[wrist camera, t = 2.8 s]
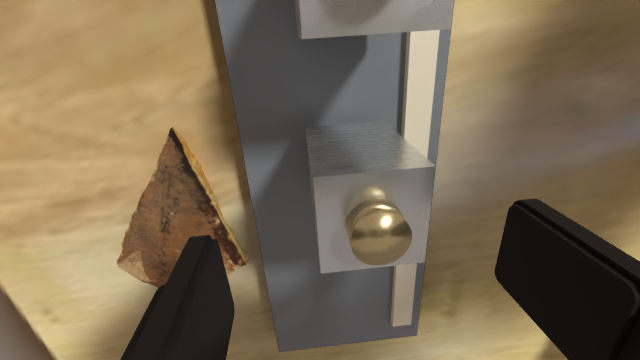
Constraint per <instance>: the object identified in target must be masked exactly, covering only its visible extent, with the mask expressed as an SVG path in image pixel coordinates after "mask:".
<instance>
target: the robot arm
mask: <svg viewBox="0 0 640 360" xmlns="http://www.w3.org/2000/svg"><path fill="white" fill-rule="evenodd" d="M495 276H496V279H497V280H498V282H499V283H500V284H501V285H502V286H503V288H504V289H505V290H506V291H507V292H508V293H509V294H510V295H511V296H512V298H513V299H514V300H515V301H516V302H517V303H518V304H519V305H520V306H521V308H522V309H523V310H524V311H525V312H526V313H527V314H528V315H529V316H530V318H531V319H532V320H533V321H534V322H535V323H536V324H537V325H538V326H539V328H540V329H541V330H542V331H543V332H544V333H545V334H546V335H547V336H548V338H549V339H550V340H551V341H552V342H553V343H554V344H555V345H556V346H557V348H558V349H559V350H560V351H561V352H562V353H563V354H564V355H565V357H566V358H567V359H568V360H640V261H638V260H636V259H635V258H633V257H631V256H630V255H628V254H626V253H625V252H623V251H622V250H620V249H618V248H617V247H615V246H613V245H612V244H610V243H609V242H607V241H605V240H604V239H602V238H600V237H599V236H597V235H595V234H594V233H592V232H591V231H589V230H587V229H586V228H584V227H582V226H581V225H579V224H577V223H576V222H574V221H573V220H571V219H569V218H568V217H566V216H564V215H563V214H561V213H559V212H558V211H556V210H555V209H553V208H551V207H550V206H548V205H546V204H545V203H543V202H542V201H540V200H538V199H527V200H518V201H515V202H514V203H513V205H512V206H511V207H510V208H509V210H508V214H507V218H506V223H505V227H504V232H503V236H502V241H501V245H500V249H499V254H498V258H497V263H496V267H495ZM233 319H234V303H233V298H232V294H231V290H230V286H229V282H228V278H227V274H226V270H225V266H224V262H223V258H222V254H221V250H220V246H219V242H218V240H217V239H212V237H211V236H210V235H203V236H194V237H189V239H188V240H187V242H186V244H185V246H184V248H183V251H182V253H181V255H180V257H179V259H178V261H177V263H176V265H175V267H174V269H173V271H172V273H171V275H170V277H169V279H168V281H167V283H166V285H162V286H160V287H159V288H158V290H157V291H156V293H155V295H154V297H153V298H152V300H151V302H150V304H149V306H148V308H147V310H146V312H145V314H144V316H143V318H142V319H141V321H140V323H139V325H138V327H137V329H136V331H135V333H134V335H133V337H132V339H131V340H130V342H129V344H128V346H127V348H126V350H125V352H124V354H123V356H122V358H121V360H226V356H227V350H228V345H229V340H230V334H231V329H232V324H233Z"/></svg>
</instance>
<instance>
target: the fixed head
mask: <svg viewBox="0 0 640 360" xmlns="http://www.w3.org/2000/svg"><path fill="white" fill-rule="evenodd" d="M453 5H454V0H295V10H296V22H297V33H298V39H312V38H327V37H342V36H356V35H371V34H385V33H400V32H414V31H429V30H444V29H451V23H452V14H453Z"/></svg>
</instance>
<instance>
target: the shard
mask: <svg viewBox="0 0 640 360" xmlns="http://www.w3.org/2000/svg"><path fill="white" fill-rule="evenodd" d="M203 235H210V236H211V237H212V239H217V240H218V242H219V246H220V250H221V254H222V258H223V262H224V266H225V270H226V274H227V277H228V276H230V274H231V273H232V272H234V271H235V270H236V269H237V268H238V267H241V266H244V265H246V264H247V262H248V258H247V257H246V254H245V251H244V250H243V249H242V248H241V246H240V245H239V243H238V242H237V241H236V239H235V237H234V234H233V231H232V229H231V228H230V227H229V226H228V224H227V223H226V222H225V220H224V217H223V215H222V213H221V211H220V208H219V205H218V202H217V200H216V197H215V196H214V194H213V191H212V190H211V188H210V186H209V183H208V181H207V179H206V177H205V175H204V172H203V170H202V168H201V165H200V164H199V162H198V161H197V159H196V158H195V156H194V154H193V153H192V152H191V151H190V149H189V148H188V145H187V143H186V142H185V141H184V140H183V138H182V137H181V136H180V135H179V134H178V133H177V132H176V130H175V129H174V128H170V131H169V134H168V136H167V138H166V142H165V144H164V146H163V148H162V150H161V152H160V155H159V159H158V163H157V167H156V169H155V170H154V173H153V175H152V178H151V180H150V182H149V184H148V186H147V188H146V189H145V190H144V192H143V194H142V195H141V198H140V200H139V203H138V206H137V208H136V211H135V212H134V214H133V215H132V218H131V220H130V222H129V228H128V230H127V231H126V232H125V237H124V240H123V242H122V248H123V249H122V252H121V254H120V256H119V258H118V260H117V264H118V267H120V268H121V269H123V270H124V271H126V272H128V273H129V274H131V275H133V276H134V277H136V278H137V279H139V280H141V281H142V282H145V283H149V284H151V285H154V286H156V287H158V288H159V287H160V286H162V285H166V283H167V281H168V279H169V277H170V275H171V273H172V271H173V269H174V267H175V265H176V263H177V261H178V259H179V257H180V255H181V253H182V251H183V248H184V246H185V244H186V242H187V240H188V239H189V237H194V236H203Z"/></svg>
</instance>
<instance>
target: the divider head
mask: <svg viewBox="0 0 640 360" xmlns="http://www.w3.org/2000/svg"><path fill="white" fill-rule="evenodd" d="M305 128H306V140H307V152H308V164H309V176H310V188H311V199H312V207H313V215H314V223H315V231H316V239H317V247H318V255H319V263H320V271H321V274H322V273H331V272H341V271H350V270H359V269H368V268H377V267H387V266H396V265H405V264H414V263H424V262H425V256H426V247H427V238H428V229H429V220H430V211H431V202H432V193H433V184H434V175H435V165H434V164H433V163H431V162H430V161H429V160H428V159H427V158H426V157H425V156H424V155H422V154H421V153H420V152H419V151H418V150H417V149H416V148H415V147H413V146H412V145H411V144H410V143H409V142H408V141H407V140H406V139H404V138H403V137H402V136H401V135H400V134H399V133H398V132H397V131H395V130H394V129H393V128H392V127H391V126H390V125H389V124H388V123H386V122H385V121H374V122H362V123H350V124H338V125H326V126H315V127H305Z"/></svg>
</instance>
